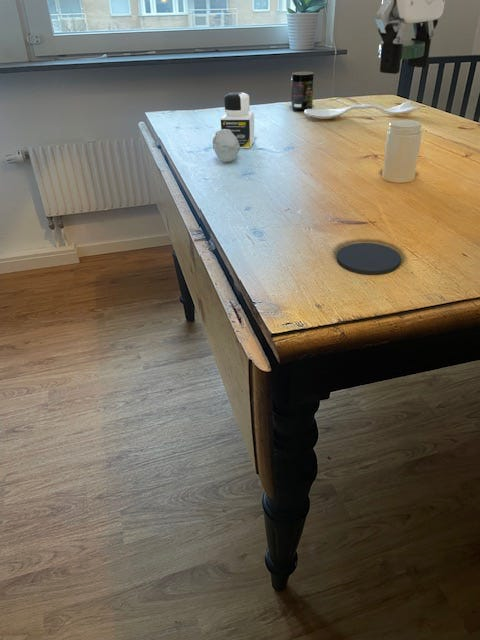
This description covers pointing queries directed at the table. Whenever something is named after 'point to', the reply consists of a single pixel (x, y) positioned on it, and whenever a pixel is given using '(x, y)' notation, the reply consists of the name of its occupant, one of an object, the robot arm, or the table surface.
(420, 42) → the jar lid
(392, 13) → the robot arm
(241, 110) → the medicine bottle
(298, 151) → the table surface
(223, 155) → the grey rock
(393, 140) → the jar
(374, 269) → the coaster
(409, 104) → the spoon
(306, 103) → the supplement container
